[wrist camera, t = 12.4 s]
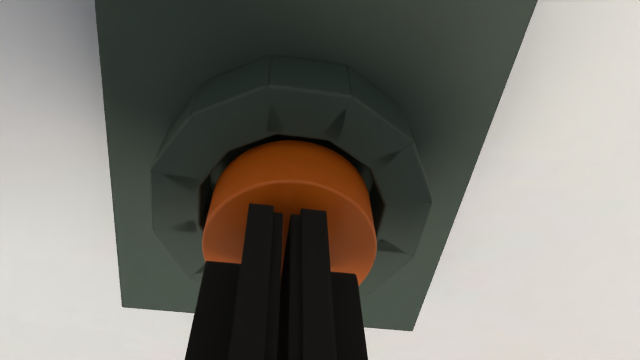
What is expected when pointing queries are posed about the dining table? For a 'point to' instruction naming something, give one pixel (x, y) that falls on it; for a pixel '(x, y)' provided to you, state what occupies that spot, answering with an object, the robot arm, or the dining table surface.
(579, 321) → the dining table surface
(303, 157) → the button
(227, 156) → the control block
